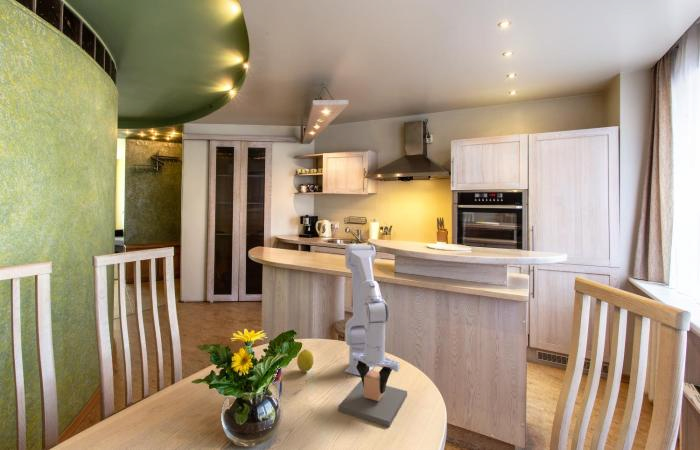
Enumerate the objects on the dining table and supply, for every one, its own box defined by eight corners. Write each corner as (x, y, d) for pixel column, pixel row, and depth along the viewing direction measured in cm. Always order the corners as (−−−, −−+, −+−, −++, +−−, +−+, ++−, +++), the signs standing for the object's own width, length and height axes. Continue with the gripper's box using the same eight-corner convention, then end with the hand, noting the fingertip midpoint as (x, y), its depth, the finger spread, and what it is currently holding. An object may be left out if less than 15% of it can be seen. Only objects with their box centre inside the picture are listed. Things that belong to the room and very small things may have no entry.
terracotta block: (369, 389, 99) (370, 369, 99) (384, 393, 97) (384, 373, 97) (363, 396, 95) (364, 376, 94) (378, 401, 93) (379, 380, 92)
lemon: (316, 371, 115) (316, 348, 114) (306, 377, 110) (306, 354, 109) (304, 366, 117) (304, 344, 117) (293, 373, 113) (293, 350, 112)
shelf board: (361, 383, 106) (361, 379, 106) (407, 395, 100) (407, 391, 100) (338, 411, 92) (338, 405, 92) (389, 427, 86) (389, 421, 85)
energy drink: (277, 401, 97) (277, 361, 96) (260, 398, 98) (260, 359, 97) (284, 391, 102) (284, 353, 101) (268, 389, 103) (268, 351, 102)
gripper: (346, 343, 95) (345, 389, 95) (394, 354, 88) (393, 403, 89) (356, 335, 101) (356, 378, 102) (402, 344, 95) (401, 390, 95)
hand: (374, 389), depth 96 cm, fingers closed on terracotta block, 5 cm apart
